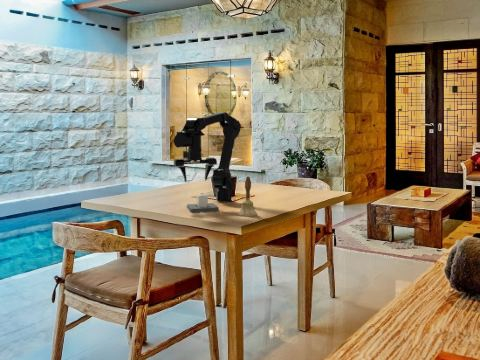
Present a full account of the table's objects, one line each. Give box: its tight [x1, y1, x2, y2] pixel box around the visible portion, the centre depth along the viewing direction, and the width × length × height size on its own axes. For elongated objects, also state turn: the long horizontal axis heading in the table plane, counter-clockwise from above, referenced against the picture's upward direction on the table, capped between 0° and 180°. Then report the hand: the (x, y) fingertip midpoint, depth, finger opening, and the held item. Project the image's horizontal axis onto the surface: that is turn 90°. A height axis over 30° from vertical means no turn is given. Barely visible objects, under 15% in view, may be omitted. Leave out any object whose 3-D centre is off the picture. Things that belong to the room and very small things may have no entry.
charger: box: [196, 194, 209, 207], centre depth 228 cm, size 4×4×6 cm
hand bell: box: [237, 176, 258, 217], centre depth 215 cm, size 8×8×16 cm
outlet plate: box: [186, 202, 220, 213], centre depth 229 cm, size 12×12×2 cm
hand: (195, 180), depth 234 cm, fingers open, 9 cm apart
